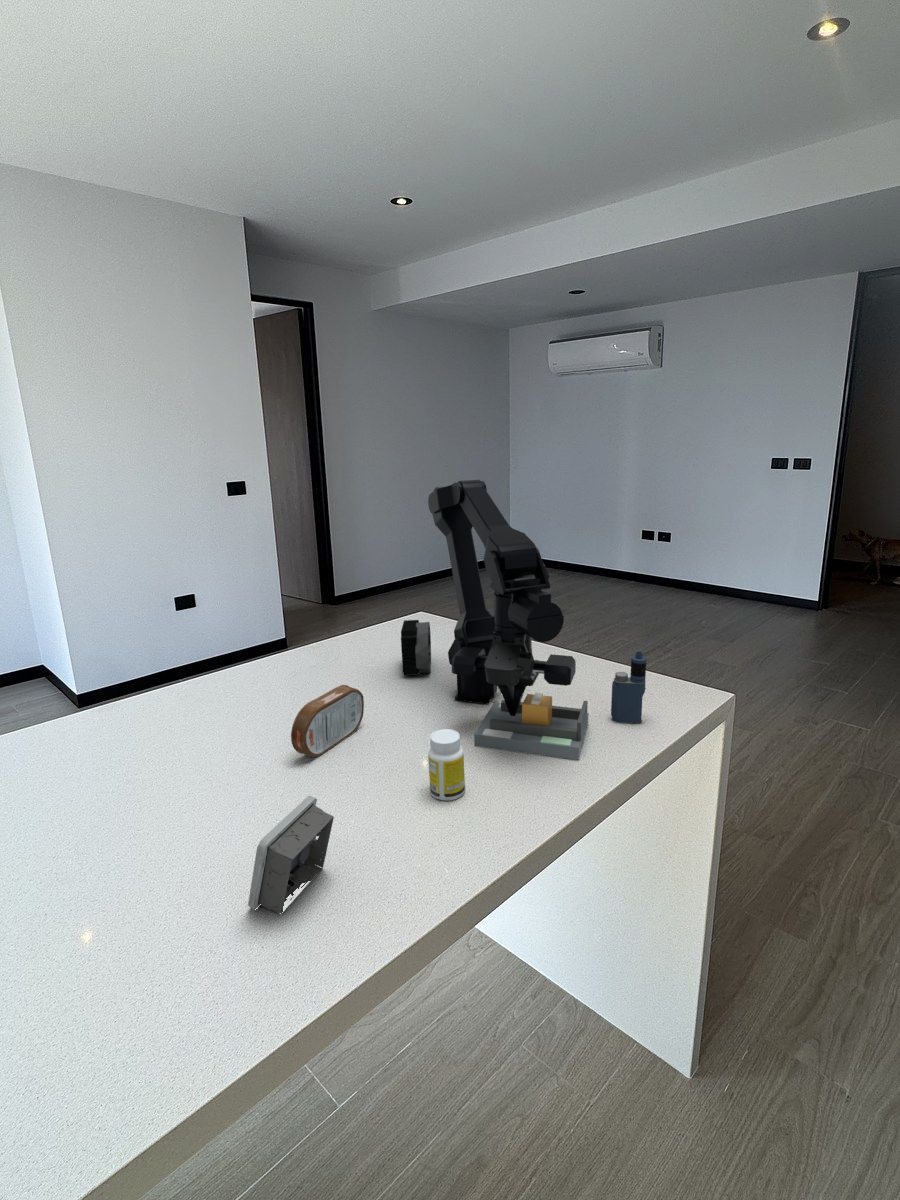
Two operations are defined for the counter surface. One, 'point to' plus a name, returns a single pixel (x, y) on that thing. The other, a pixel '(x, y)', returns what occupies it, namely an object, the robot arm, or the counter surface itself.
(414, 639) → the cpu cooler
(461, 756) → the supplement bottle
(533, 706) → the block
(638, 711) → the vaping device
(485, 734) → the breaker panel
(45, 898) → the counter surface
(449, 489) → the robot arm
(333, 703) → the tin
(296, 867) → the electrical switch
